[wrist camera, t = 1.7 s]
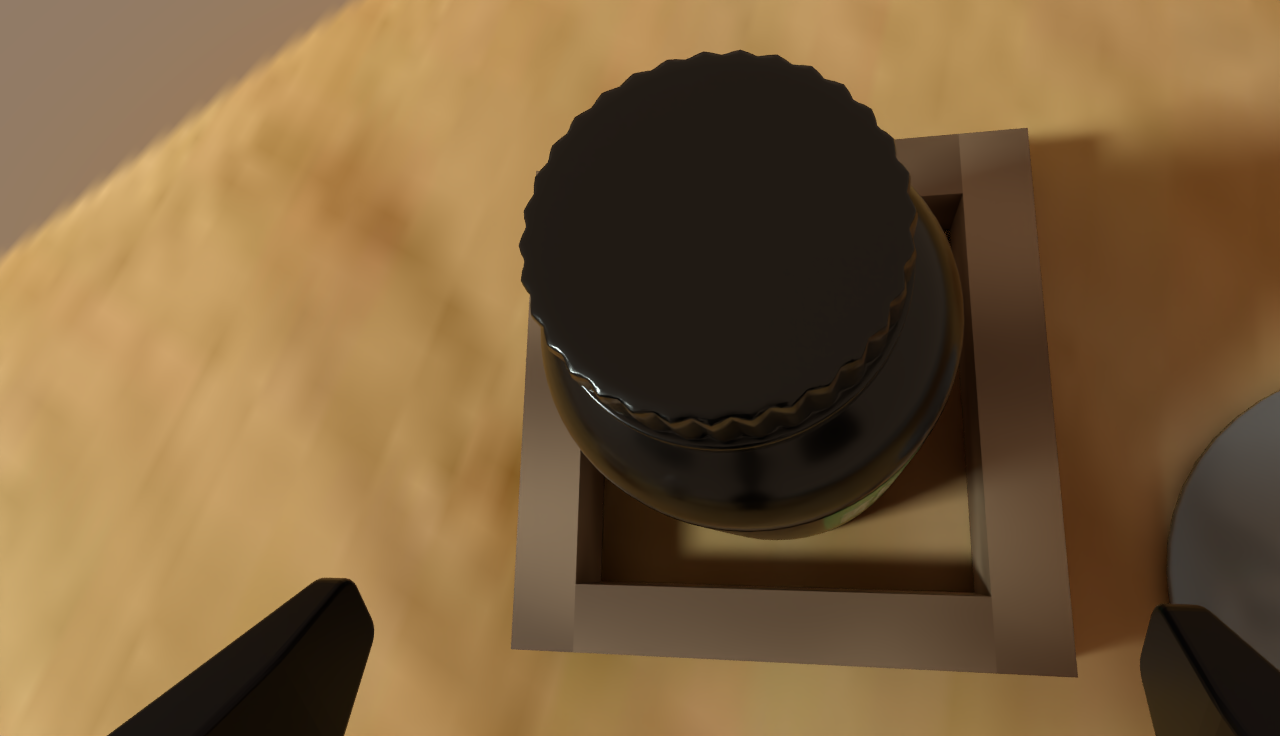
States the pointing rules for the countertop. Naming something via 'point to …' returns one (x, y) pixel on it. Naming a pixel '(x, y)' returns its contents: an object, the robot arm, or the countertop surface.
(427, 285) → the countertop surface
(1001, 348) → the brown flat square frame
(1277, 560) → the slate coaster
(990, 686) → the countertop surface
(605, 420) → the supplement bottle
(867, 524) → the countertop surface
